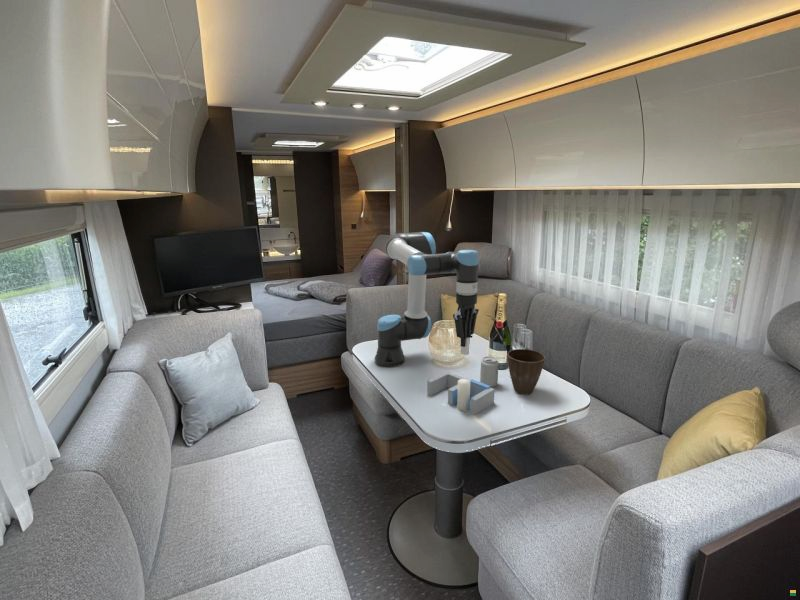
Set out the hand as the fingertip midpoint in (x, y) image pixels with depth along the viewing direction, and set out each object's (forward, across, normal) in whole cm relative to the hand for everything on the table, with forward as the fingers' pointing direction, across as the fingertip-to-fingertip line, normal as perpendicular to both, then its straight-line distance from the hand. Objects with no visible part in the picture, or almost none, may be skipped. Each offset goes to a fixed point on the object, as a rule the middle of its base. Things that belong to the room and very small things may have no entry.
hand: (464, 353), depth 150 cm
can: (+23, +24, +4) cm, 33 cm away
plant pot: (+23, +29, -10) cm, 38 cm away
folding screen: (+22, +5, +5) cm, 23 cm away
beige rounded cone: (+22, 0, 0) cm, 22 cm away
